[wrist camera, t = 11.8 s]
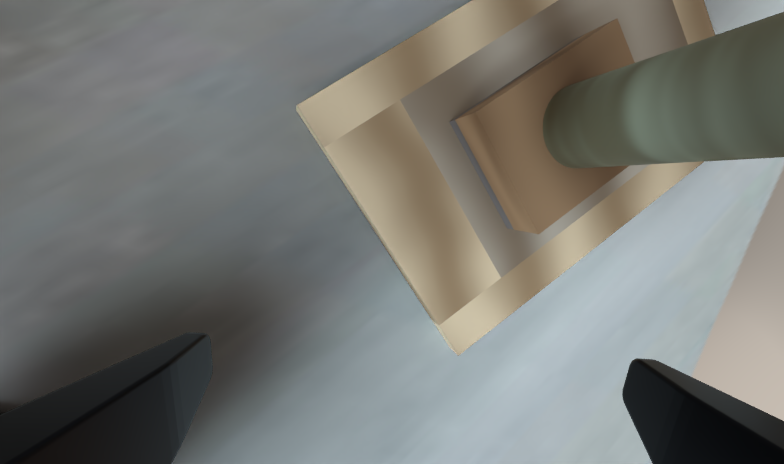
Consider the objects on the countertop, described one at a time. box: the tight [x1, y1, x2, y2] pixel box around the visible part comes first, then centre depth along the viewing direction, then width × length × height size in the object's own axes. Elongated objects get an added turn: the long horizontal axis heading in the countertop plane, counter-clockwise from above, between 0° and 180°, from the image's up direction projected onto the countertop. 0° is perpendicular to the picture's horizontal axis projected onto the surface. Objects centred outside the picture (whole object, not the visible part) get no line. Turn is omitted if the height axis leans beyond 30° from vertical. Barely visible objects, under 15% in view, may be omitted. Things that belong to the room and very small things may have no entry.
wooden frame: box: [296, 0, 715, 356], centre depth 20 cm, size 22×14×1 cm, turn 123°
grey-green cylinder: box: [450, 12, 784, 234], centre depth 14 cm, size 8×6×11 cm
